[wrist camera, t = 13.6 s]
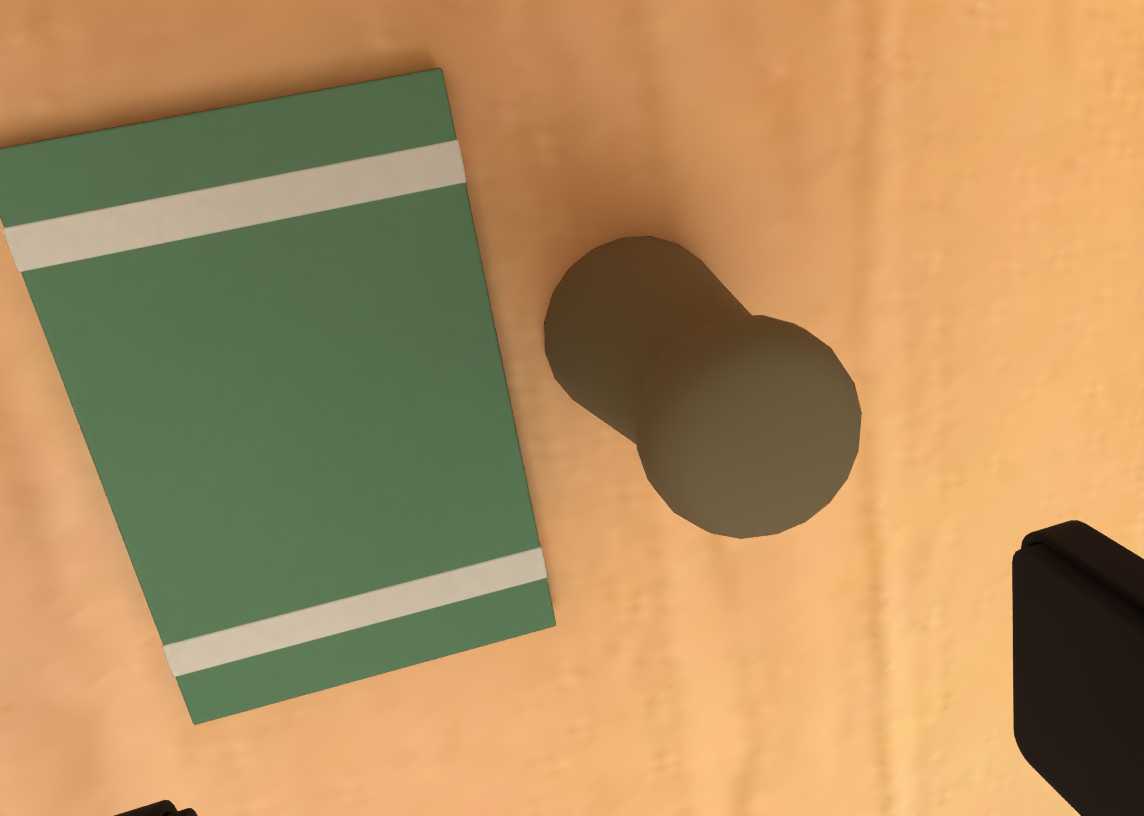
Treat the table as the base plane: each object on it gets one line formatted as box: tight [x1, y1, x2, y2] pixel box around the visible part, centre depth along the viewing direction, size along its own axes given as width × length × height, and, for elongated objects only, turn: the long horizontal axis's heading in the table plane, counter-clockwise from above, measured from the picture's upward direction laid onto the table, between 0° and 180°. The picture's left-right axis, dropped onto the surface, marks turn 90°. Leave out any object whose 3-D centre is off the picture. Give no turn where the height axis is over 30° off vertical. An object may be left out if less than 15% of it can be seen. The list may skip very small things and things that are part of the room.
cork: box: [544, 236, 862, 539], centre depth 26 cm, size 6×6×11 cm
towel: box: [0, 68, 556, 725], centre depth 29 cm, size 18×12×1 cm
